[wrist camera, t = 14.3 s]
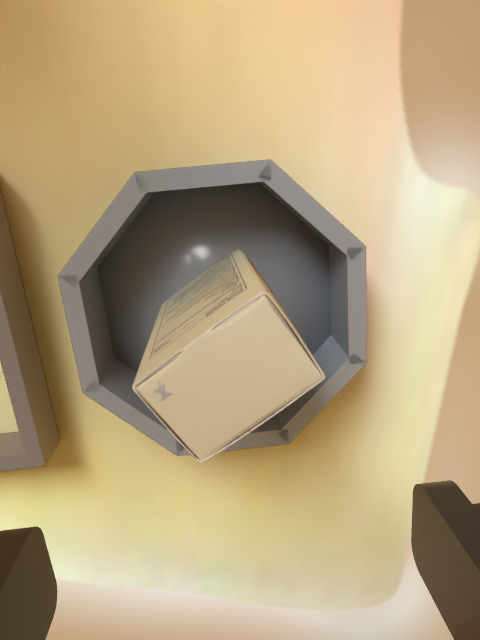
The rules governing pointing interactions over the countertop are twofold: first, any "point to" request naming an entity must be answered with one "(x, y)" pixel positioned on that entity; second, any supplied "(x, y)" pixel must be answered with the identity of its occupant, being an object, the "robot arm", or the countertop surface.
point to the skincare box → (223, 359)
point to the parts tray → (22, 368)
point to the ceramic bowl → (196, 257)
